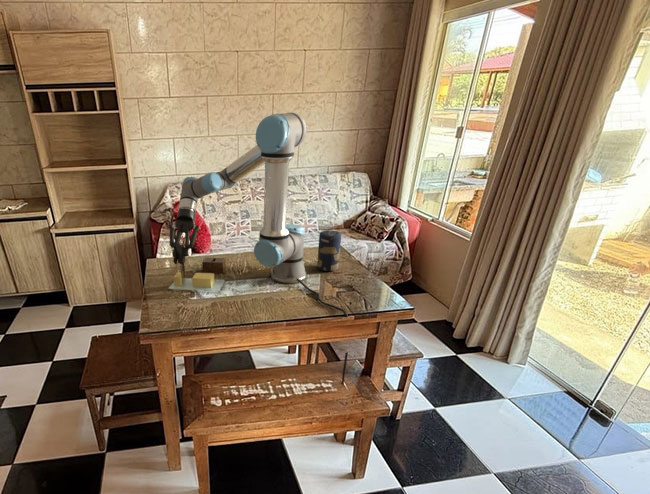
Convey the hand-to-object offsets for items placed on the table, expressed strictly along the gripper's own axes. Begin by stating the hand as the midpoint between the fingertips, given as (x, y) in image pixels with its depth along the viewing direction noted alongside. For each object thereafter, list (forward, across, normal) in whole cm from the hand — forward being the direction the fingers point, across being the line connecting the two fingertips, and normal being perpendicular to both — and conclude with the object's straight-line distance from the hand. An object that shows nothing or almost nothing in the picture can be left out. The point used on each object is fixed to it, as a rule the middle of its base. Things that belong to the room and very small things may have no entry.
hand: (178, 262), depth 167 cm
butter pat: (+5, +2, -10) cm, 12 cm away
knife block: (-6, -10, -23) cm, 26 cm away
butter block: (+5, -9, -10) cm, 14 cm away
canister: (-13, -61, -30) cm, 69 cm away
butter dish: (+6, -6, -11) cm, 14 cm away
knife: (+4, 0, -10) cm, 11 cm away
